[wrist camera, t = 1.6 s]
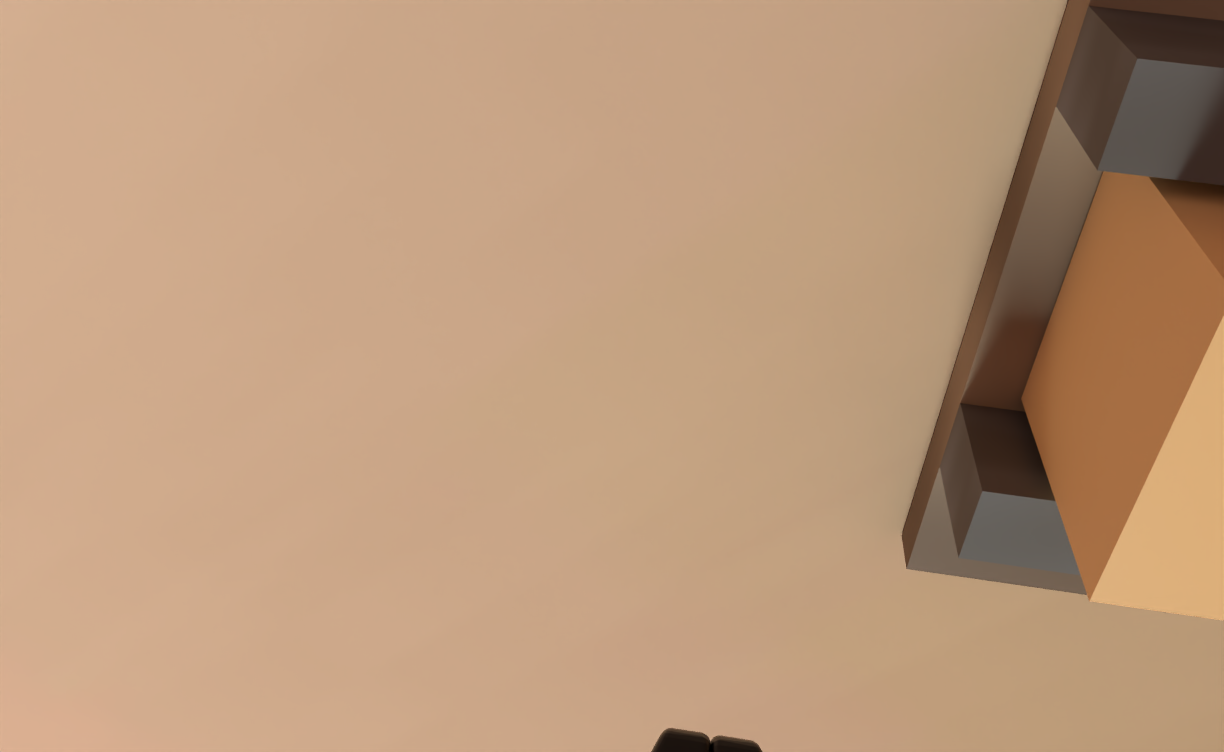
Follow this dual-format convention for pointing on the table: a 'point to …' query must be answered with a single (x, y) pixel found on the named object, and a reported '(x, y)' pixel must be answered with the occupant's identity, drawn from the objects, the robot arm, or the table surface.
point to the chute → (1058, 272)
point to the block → (1140, 396)
